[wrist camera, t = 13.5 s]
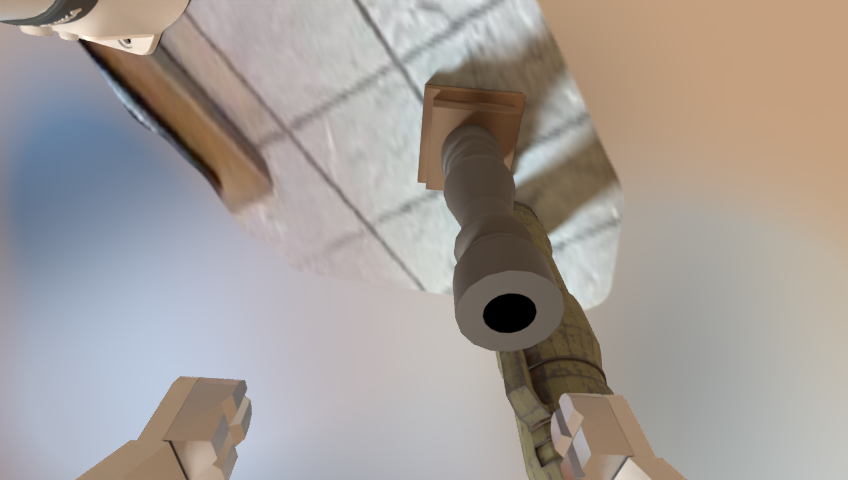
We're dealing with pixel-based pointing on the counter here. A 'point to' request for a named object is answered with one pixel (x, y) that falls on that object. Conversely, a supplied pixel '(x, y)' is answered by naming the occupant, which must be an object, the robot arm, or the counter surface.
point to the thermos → (549, 369)
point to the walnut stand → (465, 123)
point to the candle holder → (494, 250)
